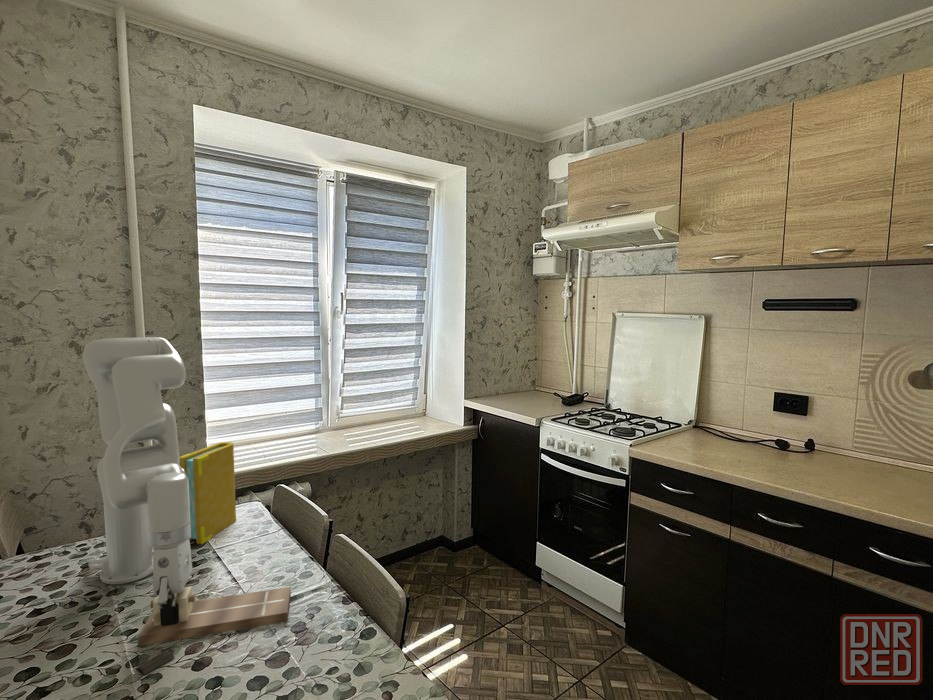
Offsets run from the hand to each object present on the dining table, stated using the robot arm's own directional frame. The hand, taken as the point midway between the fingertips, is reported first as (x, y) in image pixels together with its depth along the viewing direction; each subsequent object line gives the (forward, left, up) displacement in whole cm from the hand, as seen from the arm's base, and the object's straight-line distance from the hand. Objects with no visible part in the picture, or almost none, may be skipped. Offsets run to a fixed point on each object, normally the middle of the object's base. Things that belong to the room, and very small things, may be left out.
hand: (173, 615), depth 102 cm
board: (+9, 0, -2) cm, 9 cm away
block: (0, -11, -3) cm, 12 cm away
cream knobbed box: (0, 0, 0) cm, 0 cm away
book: (-2, +47, -3) cm, 47 cm away
